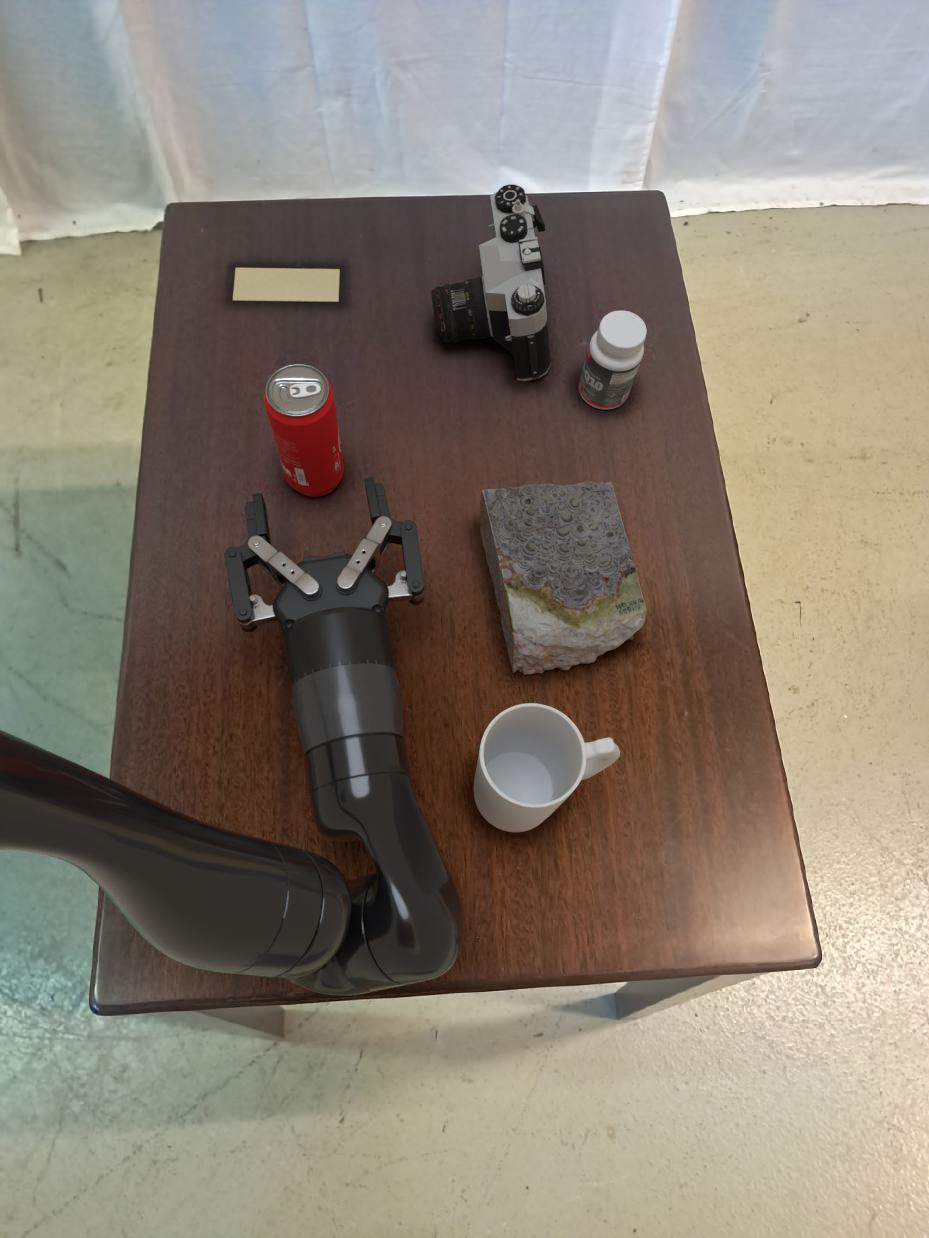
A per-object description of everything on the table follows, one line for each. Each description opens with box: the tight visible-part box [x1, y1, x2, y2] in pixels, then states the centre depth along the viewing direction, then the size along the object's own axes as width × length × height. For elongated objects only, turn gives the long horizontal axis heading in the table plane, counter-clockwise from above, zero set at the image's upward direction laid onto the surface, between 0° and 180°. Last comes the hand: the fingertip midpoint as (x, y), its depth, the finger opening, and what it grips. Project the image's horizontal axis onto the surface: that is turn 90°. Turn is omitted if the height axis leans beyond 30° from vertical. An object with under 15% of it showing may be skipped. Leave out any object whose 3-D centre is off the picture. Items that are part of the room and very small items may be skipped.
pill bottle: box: [578, 310, 648, 410], centre depth 77 cm, size 5×5×8 cm
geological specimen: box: [479, 480, 647, 676], centre depth 70 cm, size 11×6×15 cm
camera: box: [430, 184, 552, 382], centre depth 79 cm, size 15×11×10 cm
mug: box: [473, 702, 621, 833], centre depth 61 cm, size 10×7×12 cm, turn 100°
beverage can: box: [263, 363, 345, 498], centre depth 70 cm, size 5×5×12 cm
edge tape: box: [232, 267, 341, 303], centre depth 83 cm, size 10×4×1 cm, turn 92°
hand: (314, 490), depth 67 cm, fingers open, 8 cm apart
